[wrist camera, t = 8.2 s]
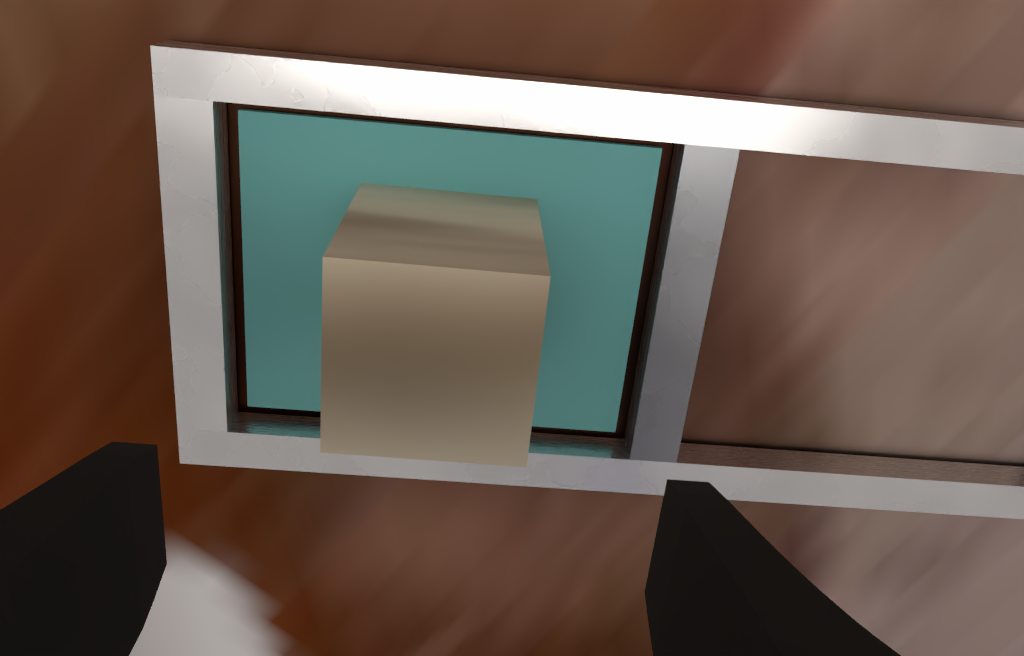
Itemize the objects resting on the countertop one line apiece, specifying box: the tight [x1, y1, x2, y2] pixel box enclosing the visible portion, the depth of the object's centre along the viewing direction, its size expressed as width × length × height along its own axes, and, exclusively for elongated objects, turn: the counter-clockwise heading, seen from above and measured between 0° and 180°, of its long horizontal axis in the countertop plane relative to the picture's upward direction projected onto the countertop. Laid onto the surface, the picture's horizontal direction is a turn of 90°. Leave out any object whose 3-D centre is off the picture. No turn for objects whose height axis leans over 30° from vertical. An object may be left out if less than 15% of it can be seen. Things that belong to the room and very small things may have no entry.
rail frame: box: [150, 40, 1024, 519], centre depth 21 cm, size 10×24×1 cm, turn 85°
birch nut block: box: [320, 183, 551, 467], centre depth 18 cm, size 4×4×5 cm
